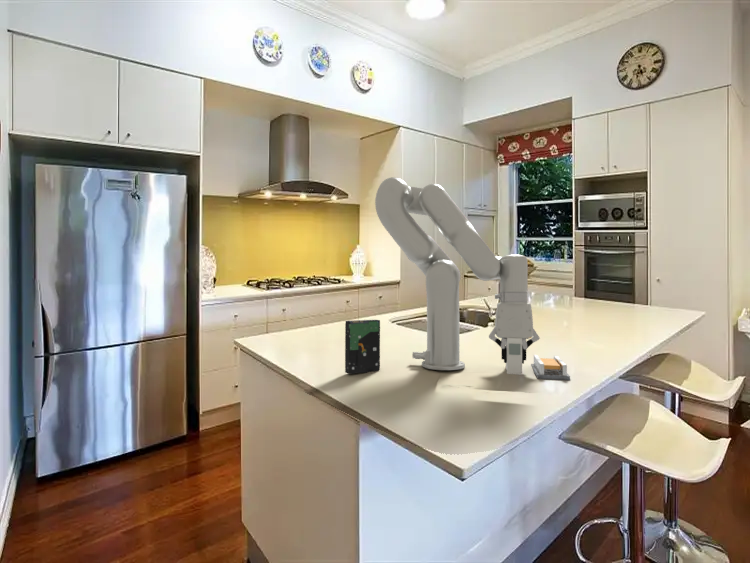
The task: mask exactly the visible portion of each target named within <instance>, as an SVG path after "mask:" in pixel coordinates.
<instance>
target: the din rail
mask: <svg viewBox="0 0 750 563" xmlns="http://www.w3.org/2000/svg"><path fill="white" fill-rule="evenodd" d="M540 358H541V357H539V355H538V354H533V363H531V364H530V366H531V367H532V370H533V372H534V375H535V376H536V379H538V380H539V379H540V380H558V381H559V380H560V381H562V380H563V381H571V375H570V374H569V373H568V371H567V370H568V366H567V364H566V362H564V361H563V359H561V358H560V357H559V355H553V359H554V360H555V361H556V362H557V363H558V364H559V365H560V370H559V369H544V363H543V362H542V361H541V359H540Z"/></svg>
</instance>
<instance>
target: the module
mask: <svg viewBox="0 0 750 563" xmlns="http://www.w3.org/2000/svg"><path fill="white" fill-rule="evenodd" d="M505 346H506V349H507V363H505V370H506V374H507V375H523V364H522V338H507V340H506V345H505Z"/></svg>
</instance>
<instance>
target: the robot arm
mask: <svg viewBox="0 0 750 563" xmlns="http://www.w3.org/2000/svg"><path fill="white" fill-rule="evenodd" d="M374 205H375V211H376V215H377V217H378V220H379V221H380V223H381V224H382V226H383V228H384V229H385V230H386V232H388V235H390V237H391V238H392V239H393V240H394V242H395V243H396V244H397V245H398V247H400V249H401V250H402V252H403V253H404V255H405V256H406V257H407V259H408V260H409V261H410V262H411V263H413V264H415V265H416V266H417V267H418V269H419V270H420V271H421V272H422V273H423V275H424V276H425V292H426V350H425V351H422V352H420V351H412V359H416V360H423V361H421V366H422V367H423V368H425V369H429V370H434V371H435V370H436V371H456V370H457V371H458V370H462V369H464V368H465V367H466V363H465V362H464V361H461V360H460V281H461V277H462V276H461V275H462V274H461V270H460V269H459V267H458V266H457V265H456V263H455V262H454V261H453V260H452V259H451V257H450V256H449V255H448V254H447V253H446V252H445V251H444V249H443V248H442V247H441V246H440V245H439V243H438V242H437V241H436V240H435V239H434V238H433V237H432V236H431V235H429V234H427V232H426V231H425V230H423V229H422V228H421V226H420V224H418V223H417V222H416V220H415V219H414V218H413V216H412V215H411V214H415V215H421V216H427V217H428V218H429V220H430V221H431V222H432V223H433V224H434V226H435V227H436V228H437V230H438V231H439V232H440V234H441V235H442V236H443V238H444V240H446V241H447V243H448V244H450V245H451V246H452V247H453V248H454V249H455V251H456V253H458V254H459V256H460V257H461V258H462V259H463V261H464V263H465V265H467V266H468V268H469V269H470V270H471V271H472V273H473V275H475V277H476V278H478V279H479V280H481V281H486V282H487V281H494V280H499V285H500V286H499V293H495V294H494V300H495V299H496V300H499V302H497V304H496V308H495V309H496V312H495V321H494V322H495V324H494V325H495V326H494V327H493V329H492V330H491V332H490V333H489V335H488V338H489V339H490V340H492V341H493V342H495V343H496V344H497V345H498V346H499V347H500V348H501V360H503V363H505V364H506V363H507V349H506V340H507V338H522V365H523V364H525V361H527V350H528V348H529V347H530V346H532V345H533V344H534V343H536V342H538V341H539V340H540V339H541V338H540V336H539V334H538V333H537V331H536V330H535V329H534V321H533V319H534V318H533V310H532V309H533V308H532V305H531V302H528V299H529V298H528V297H529V296H528V289H529V288H528V285H529V284H528V283H529V282H528V280H529V279H528V272H529V271H528V269H529V268H528V266H529V265H528V258H527V256H525V255H522V254H507V255H503V256H496V255H495V253H494V252H493V251H492V250H491V249H490V246H488V244H487V242H485V241H484V240H483V238H482V237H481V236H480V234H479V233H478V232H477V230H476V229H475V228H474V226H473V224H472V223H471V221H470V220H469V219H468V218H467V217H466V215H465V214H464V212H463V211H462V210H461V208H460V207H459V206H458V205H457V204H456V202H455V201H454V199H453V198H452V197H451V196H450V194H449V193H448V192H447V191H446V189H445V188H444V187H442V185H440V184H437V183H429V184H426V185H425V186H424V187H417V186H411V185H408V184H407V182H405V181H404V180H403V179H401V178H398V177H395V176H394V177H388V178H385V179H384V180H383V181H382V182H381V183H380V184H379V186H378V188H377V190H376V194H375V199H374ZM500 339H501V340H500Z"/></svg>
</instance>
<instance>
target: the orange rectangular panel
mask: <svg viewBox="0 0 750 563" xmlns="http://www.w3.org/2000/svg"><path fill="white" fill-rule="evenodd" d="M539 358H540V359H541V361H542V362H543V363H544V369H559V370H560V365H559V364H558V363H557V362H556V361H555V360H554V358H545V357H544V358H541V357H539Z"/></svg>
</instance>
